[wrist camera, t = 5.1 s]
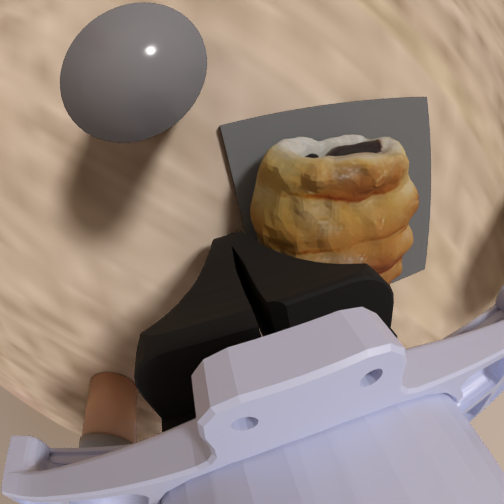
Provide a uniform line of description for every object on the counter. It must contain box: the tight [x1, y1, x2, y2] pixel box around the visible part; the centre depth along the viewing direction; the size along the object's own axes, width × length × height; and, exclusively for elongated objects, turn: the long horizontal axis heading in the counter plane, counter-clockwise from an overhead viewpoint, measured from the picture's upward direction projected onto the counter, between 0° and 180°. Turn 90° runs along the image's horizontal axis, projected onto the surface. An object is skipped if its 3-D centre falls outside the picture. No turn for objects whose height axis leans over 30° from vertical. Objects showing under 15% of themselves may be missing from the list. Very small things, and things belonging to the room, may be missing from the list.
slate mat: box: [220, 97, 431, 284], centre depth 13 cm, size 10×10×1 cm
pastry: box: [250, 134, 419, 285], centre depth 12 cm, size 9×7×4 cm
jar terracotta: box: [79, 372, 137, 448], centre depth 13 cm, size 3×3×5 cm
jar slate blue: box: [60, 3, 207, 143], centre depth 7 cm, size 3×3×5 cm
